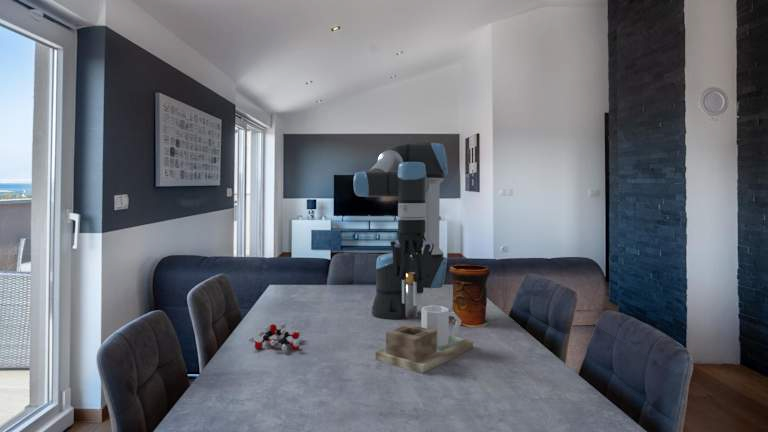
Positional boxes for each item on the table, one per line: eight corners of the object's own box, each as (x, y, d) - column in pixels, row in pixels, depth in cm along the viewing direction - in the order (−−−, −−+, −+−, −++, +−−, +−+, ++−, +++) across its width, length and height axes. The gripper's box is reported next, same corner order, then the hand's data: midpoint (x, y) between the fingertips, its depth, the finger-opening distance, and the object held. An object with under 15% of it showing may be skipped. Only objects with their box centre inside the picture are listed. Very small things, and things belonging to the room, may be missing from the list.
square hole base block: (375, 359, 129) (375, 330, 129) (428, 336, 149) (428, 312, 148) (422, 373, 119) (422, 342, 118) (472, 347, 139) (473, 321, 138)
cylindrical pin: (403, 316, 127) (403, 273, 127) (410, 314, 130) (410, 271, 129) (412, 318, 125) (412, 274, 125) (419, 316, 128) (419, 273, 127)
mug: (424, 347, 132) (424, 313, 132) (418, 337, 141) (418, 305, 140) (464, 345, 134) (465, 311, 134) (456, 336, 143) (456, 304, 142)
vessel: (440, 321, 166) (441, 266, 165) (462, 314, 176) (463, 262, 176) (474, 330, 156) (476, 271, 155) (496, 322, 167) (497, 267, 166)
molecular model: (274, 336, 150) (315, 330, 145) (259, 367, 140) (302, 363, 135) (260, 313, 145) (301, 307, 140) (243, 344, 135) (287, 338, 130)
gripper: (380, 218, 129) (380, 301, 130) (428, 220, 118) (428, 311, 119) (397, 217, 135) (397, 297, 136) (444, 219, 124) (443, 305, 125)
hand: (411, 303), depth 128 cm, fingers closed on cylindrical pin, 3 cm apart
